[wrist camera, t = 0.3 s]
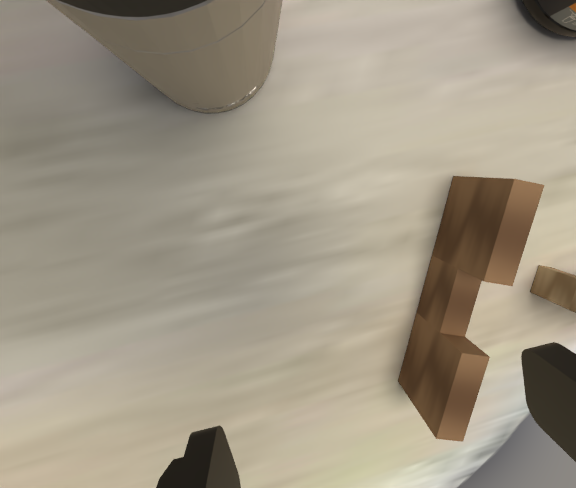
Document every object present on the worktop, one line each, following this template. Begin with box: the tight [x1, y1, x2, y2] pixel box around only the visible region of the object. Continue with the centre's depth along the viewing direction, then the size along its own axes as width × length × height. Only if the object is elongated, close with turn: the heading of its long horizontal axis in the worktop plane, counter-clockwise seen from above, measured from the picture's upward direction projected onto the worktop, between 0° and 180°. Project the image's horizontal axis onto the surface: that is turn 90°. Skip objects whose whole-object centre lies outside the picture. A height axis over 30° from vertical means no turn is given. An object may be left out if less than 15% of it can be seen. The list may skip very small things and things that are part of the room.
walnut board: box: [398, 176, 544, 441], centre depth 27 cm, size 18×2×7 cm, turn 169°
